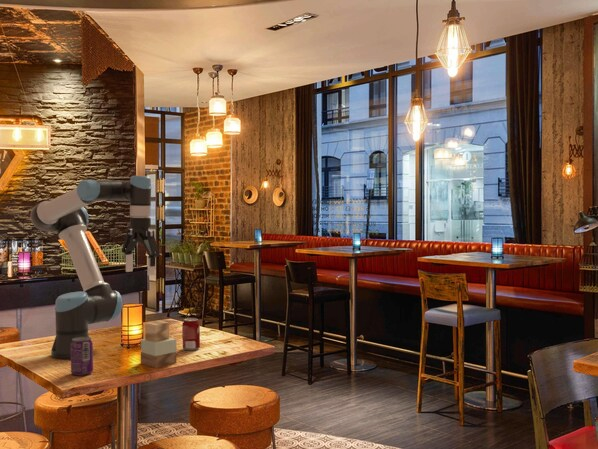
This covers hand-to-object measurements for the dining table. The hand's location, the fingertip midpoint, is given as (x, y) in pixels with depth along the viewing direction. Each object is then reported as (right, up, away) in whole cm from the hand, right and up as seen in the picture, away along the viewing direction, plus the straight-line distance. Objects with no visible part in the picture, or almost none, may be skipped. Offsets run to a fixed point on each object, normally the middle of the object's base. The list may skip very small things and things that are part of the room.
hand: (140, 273), depth 234 cm
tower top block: (+9, -28, -9) cm, 31 cm away
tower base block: (+9, -32, -9) cm, 35 cm away
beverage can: (-14, -33, -22) cm, 42 cm away
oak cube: (+9, -23, -9) cm, 26 cm away
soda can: (+17, -31, +12) cm, 38 cm away
